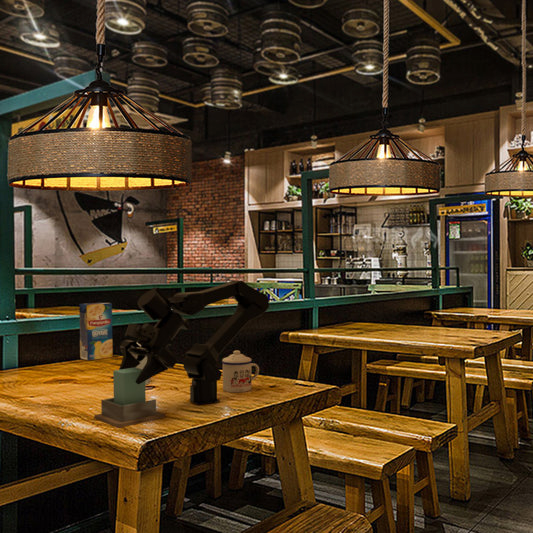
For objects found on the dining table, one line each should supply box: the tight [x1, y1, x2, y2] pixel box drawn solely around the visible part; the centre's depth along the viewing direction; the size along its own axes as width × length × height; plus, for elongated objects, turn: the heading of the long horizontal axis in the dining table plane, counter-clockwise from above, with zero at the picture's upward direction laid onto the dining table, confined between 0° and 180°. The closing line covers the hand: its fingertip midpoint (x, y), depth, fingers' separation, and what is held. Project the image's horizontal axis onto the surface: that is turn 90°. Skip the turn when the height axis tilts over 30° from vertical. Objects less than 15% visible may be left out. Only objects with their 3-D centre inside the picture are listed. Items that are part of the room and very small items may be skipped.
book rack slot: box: [93, 397, 166, 429], centre depth 147 cm, size 13×12×4 cm
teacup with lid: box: [221, 350, 260, 393], centre depth 178 cm, size 12×9×12 cm
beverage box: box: [78, 302, 114, 361], centre depth 241 cm, size 7×11×22 cm, turn 133°
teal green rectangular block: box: [112, 368, 147, 406], centre depth 147 cm, size 6×5×11 cm
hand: (127, 380), depth 146 cm, fingers open, 9 cm apart
